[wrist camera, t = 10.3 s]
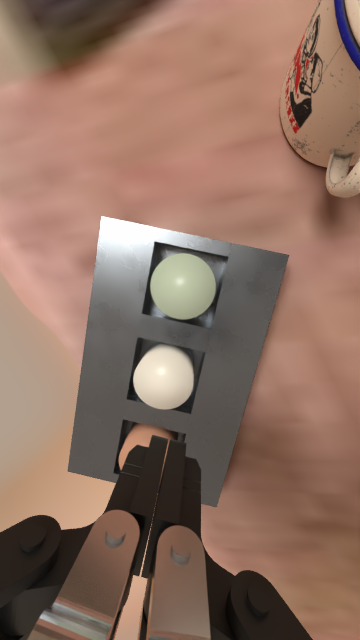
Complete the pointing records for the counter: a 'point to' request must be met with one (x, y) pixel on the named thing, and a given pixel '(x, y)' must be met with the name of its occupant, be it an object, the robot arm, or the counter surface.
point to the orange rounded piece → (143, 439)
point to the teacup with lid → (327, 95)
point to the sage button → (183, 286)
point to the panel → (155, 326)
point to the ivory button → (165, 376)
